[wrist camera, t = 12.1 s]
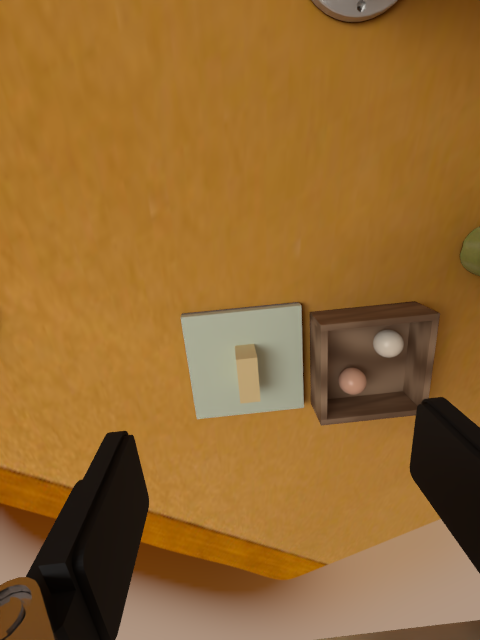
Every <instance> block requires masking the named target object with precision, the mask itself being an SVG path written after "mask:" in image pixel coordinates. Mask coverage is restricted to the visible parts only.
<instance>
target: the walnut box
mask: <svg viewBox="0 0 480 640" xmlns="http://www.w3.org/2000/svg"><path fill="white" fill-rule="evenodd" d="M439 317H440V313H438V312H436V311H434V310H432V309H430V308H428V307H426V306H423V305H421V304H419V303H417V302H405V303H395V304H385V305H375V306H365V307H355V308H345V309H335V310H325V311H315V312H310V370H311V404H312V407H313V409H314V411H315V413H316V415H317V418H318V420H319V422H320V424H321V425H330V424H339V423H348V422H357V421H367V420H376V419H385V418H394V417H404V416H413V415H416V411H417V406H418V405H419V404H421V402H422V400H423V399H428V398H429V391H430V384H431V377H432V369H433V362H434V354H435V347H436V339H437V332H438V324H439ZM382 330H393V331H396V332H397V333H399V334H400V335H401V337H402V338H403V341H404V347H403V350H402V351H401V353H400V354H399V355H397V356H395V357H391V358H387V357H383V356H381V355H379V354H378V353H377V352H376V351H375V349H374V347H373V339H374V337H375V336H376V334H377V333H379V332H380V331H382ZM351 367H352V368H357V369H359V370H361V371H362V372H363V373H364V375H365V376H366V379H367V385H366V388H365V389H364V391H363V392H361V393H360V394H357V395H350V394H347V393H345V392H344V391H343V390H342V389H341V388H340V386H339V383H338V378H339V375H340V373H341V372H342V371H343V370H344V369H346V368H351Z"/></svg>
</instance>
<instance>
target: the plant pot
mask: <svg viewBox="0 0 480 640" xmlns="http://www.w3.org/2000/svg"><path fill="white" fill-rule="evenodd" d="M460 260H461V263H462V265H463V267H464V268H465V269H466V270H468V271H469V272H471V273H473V274H476V275H478V276H480V227H478V228H476V229H474V230H473V231H472V232H471V233H470V234H469V235H468V236H467V237H466V238H465V240H464V242H463V247H462V251H461V253H460Z"/></svg>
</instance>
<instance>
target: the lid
mask: <svg viewBox="0 0 480 640" xmlns="http://www.w3.org/2000/svg"><path fill="white" fill-rule="evenodd" d="M181 323H182V329H183V335H184V341H185V348H186V354H187V360H188V366H189V373H190V379H191V385H192V391H193V398H194V404H195V410H196V416H197V419H203V418H212V417H221V416H231V415H240V414H249V413H259V412H268V411H277V410H287V409H296V408H304V395H303V351H302V307H301V304H300V303H297V304H287V305H277V306H267V307H257V308H247V309H237V310H227V311H217V312H207V313H197V314H187V315H181Z"/></svg>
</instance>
